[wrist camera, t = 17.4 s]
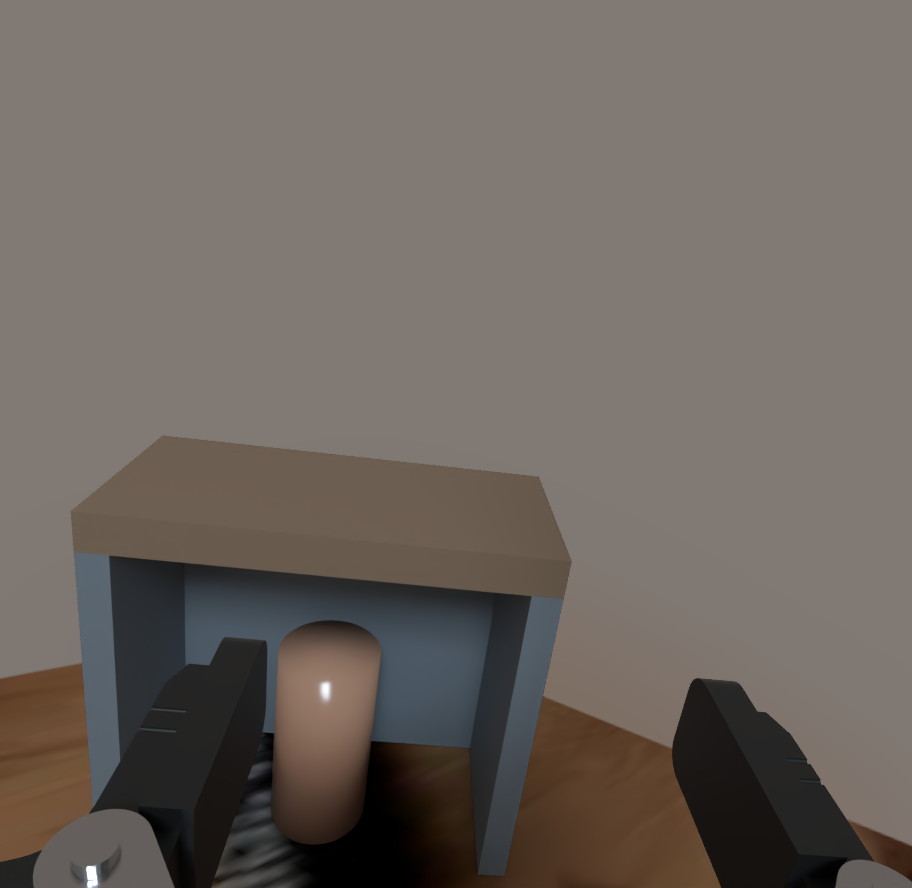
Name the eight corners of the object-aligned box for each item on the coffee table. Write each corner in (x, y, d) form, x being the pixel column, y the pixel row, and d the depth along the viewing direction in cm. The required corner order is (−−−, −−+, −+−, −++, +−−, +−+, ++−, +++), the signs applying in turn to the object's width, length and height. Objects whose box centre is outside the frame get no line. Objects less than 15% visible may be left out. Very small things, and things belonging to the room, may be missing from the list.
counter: (489, 738, 46) (538, 476, 39) (504, 876, 36) (571, 561, 29) (168, 713, 44) (162, 435, 37) (96, 850, 35) (70, 511, 28)
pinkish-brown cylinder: (368, 769, 42) (384, 624, 38) (359, 847, 37) (376, 689, 33) (282, 762, 41) (290, 616, 38) (260, 840, 36) (266, 680, 33)
